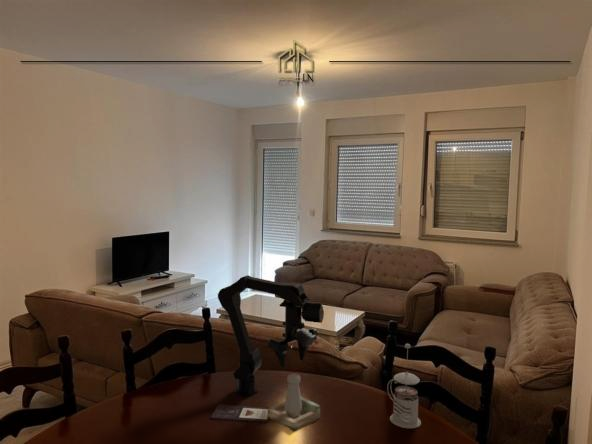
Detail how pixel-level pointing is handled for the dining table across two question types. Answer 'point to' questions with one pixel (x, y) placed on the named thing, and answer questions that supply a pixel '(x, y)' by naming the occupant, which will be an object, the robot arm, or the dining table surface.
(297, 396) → the salt shaker
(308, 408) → the maple tray
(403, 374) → the french press
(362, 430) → the dining table surface
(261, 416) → the chocolate bar
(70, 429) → the dining table surface
